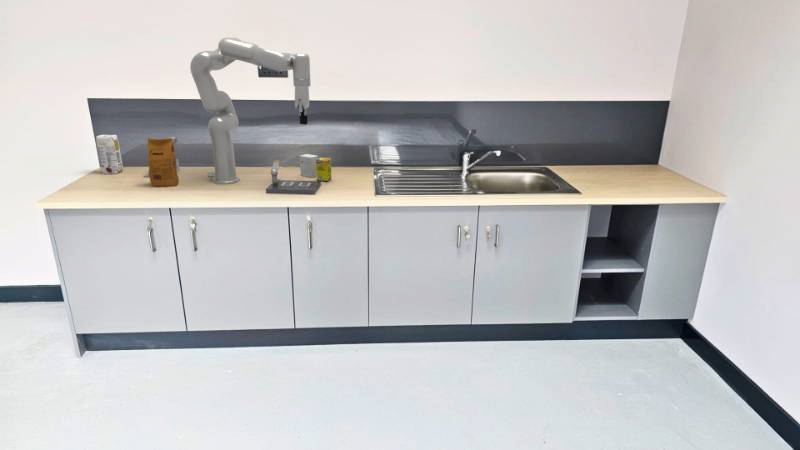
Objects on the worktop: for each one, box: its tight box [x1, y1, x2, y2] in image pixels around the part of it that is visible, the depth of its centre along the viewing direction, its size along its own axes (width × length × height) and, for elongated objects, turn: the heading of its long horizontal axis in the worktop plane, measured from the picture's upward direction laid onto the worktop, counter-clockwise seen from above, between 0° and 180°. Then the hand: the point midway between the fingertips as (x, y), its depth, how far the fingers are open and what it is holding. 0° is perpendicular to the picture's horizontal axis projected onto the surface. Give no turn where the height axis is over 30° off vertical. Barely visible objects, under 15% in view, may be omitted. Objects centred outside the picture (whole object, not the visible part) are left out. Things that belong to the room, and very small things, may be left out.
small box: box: [299, 153, 319, 179], centre depth 255 cm, size 8×6×10 cm
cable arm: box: [270, 159, 281, 176], centre depth 238 cm, size 20×3×2 cm, turn 9°
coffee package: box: [147, 137, 180, 188], centre depth 232 cm, size 10×12×22 cm
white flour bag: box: [95, 134, 124, 175], centre depth 251 cm, size 8×9×19 cm
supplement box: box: [316, 157, 332, 183], centre depth 247 cm, size 6×6×11 cm
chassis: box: [265, 175, 322, 196], centre depth 232 cm, size 22×16×6 cm
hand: (303, 123), depth 230 cm, fingers closed
